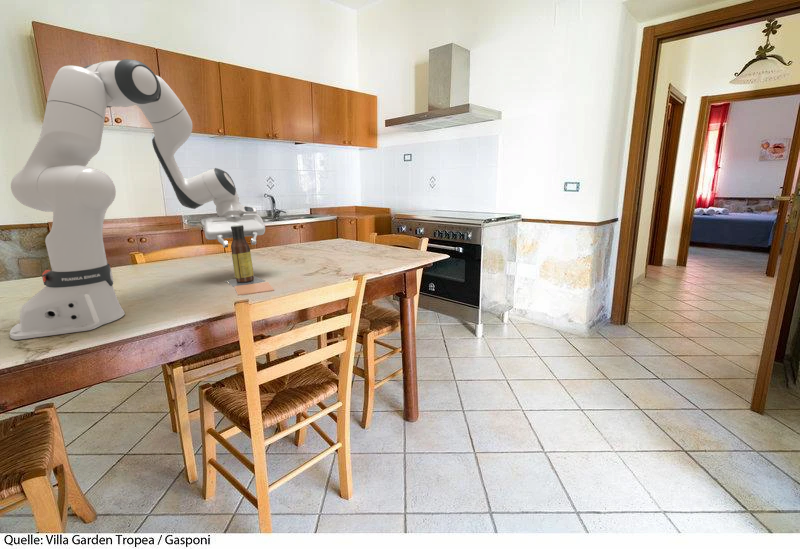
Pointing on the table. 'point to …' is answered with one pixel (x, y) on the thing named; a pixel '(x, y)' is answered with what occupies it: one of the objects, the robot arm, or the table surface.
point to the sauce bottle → (241, 255)
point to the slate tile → (235, 283)
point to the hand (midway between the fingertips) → (240, 245)
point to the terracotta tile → (253, 288)
